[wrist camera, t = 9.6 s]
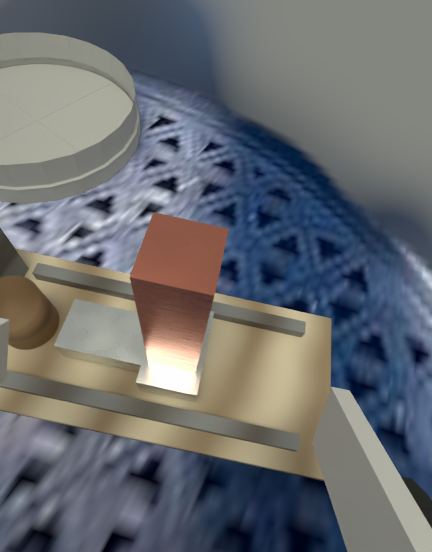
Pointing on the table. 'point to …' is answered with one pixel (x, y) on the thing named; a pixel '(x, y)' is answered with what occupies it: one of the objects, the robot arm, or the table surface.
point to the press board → (213, 383)
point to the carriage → (156, 311)
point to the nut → (26, 313)
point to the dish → (62, 117)
